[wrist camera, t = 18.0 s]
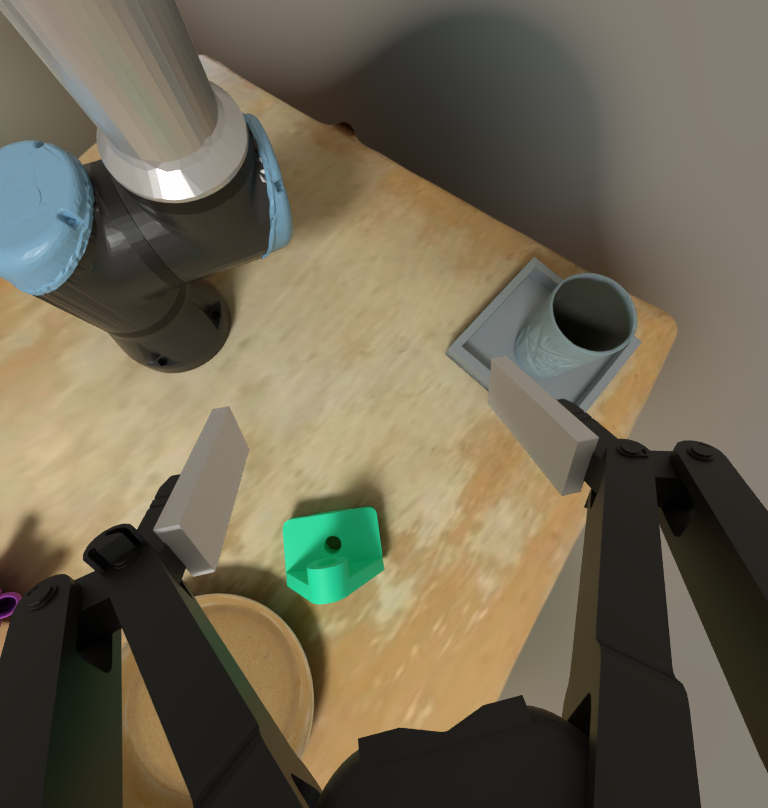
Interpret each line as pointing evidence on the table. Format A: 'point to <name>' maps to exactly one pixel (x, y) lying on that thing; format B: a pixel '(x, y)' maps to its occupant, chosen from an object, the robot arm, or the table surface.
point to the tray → (504, 323)
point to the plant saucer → (262, 666)
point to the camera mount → (332, 553)
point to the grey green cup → (576, 326)
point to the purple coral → (8, 603)
